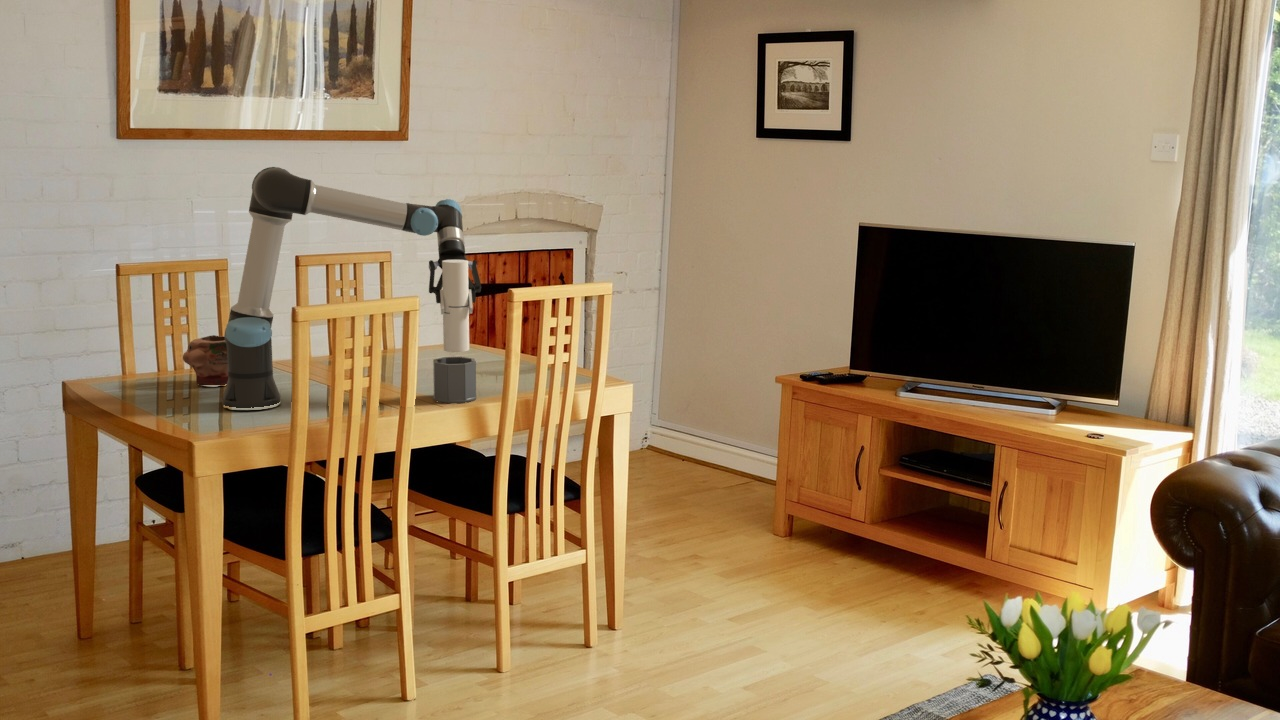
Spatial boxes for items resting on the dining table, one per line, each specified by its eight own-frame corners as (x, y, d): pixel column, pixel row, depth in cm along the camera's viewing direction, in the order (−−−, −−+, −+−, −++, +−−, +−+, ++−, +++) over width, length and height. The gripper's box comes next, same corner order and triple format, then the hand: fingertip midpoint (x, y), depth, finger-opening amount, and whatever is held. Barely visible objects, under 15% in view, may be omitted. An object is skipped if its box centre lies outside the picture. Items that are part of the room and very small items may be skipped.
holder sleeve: (434, 404, 342) (434, 365, 339) (432, 394, 353) (431, 357, 351) (478, 402, 344) (478, 364, 342) (474, 393, 356) (473, 356, 354)
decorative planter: (249, 377, 373) (247, 332, 370) (260, 384, 362) (258, 338, 360) (180, 383, 362) (178, 336, 360) (189, 391, 352) (186, 343, 349)
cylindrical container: (464, 352, 342) (463, 263, 337) (439, 351, 343) (438, 262, 339) (472, 348, 349) (471, 260, 344) (448, 346, 350) (447, 259, 345)
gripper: (485, 254, 358) (492, 318, 346) (415, 255, 354) (419, 320, 341) (487, 238, 352) (494, 302, 340) (416, 238, 348) (420, 303, 335)
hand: (457, 311), depth 341 cm, fingers closed on cylindrical container, 7 cm apart
